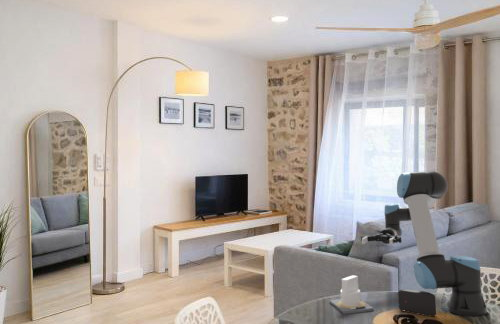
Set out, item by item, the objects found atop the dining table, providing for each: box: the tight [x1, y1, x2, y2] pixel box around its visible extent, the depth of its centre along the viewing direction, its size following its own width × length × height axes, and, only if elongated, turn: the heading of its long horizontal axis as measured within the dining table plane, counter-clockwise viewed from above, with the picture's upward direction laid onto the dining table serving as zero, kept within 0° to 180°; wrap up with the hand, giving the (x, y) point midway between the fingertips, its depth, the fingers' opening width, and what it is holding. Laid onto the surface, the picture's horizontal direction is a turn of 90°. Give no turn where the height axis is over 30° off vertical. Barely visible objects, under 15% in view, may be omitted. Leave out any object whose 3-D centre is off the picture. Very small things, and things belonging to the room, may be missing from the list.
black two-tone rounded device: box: [397, 289, 437, 317], centre depth 209 cm, size 16×5×9 cm, turn 49°
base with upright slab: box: [339, 275, 362, 307], centre depth 222 cm, size 9×9×12 cm
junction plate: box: [329, 298, 375, 315], centre depth 222 cm, size 18×14×2 cm
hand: (376, 241), depth 235 cm, fingers open, 13 cm apart
